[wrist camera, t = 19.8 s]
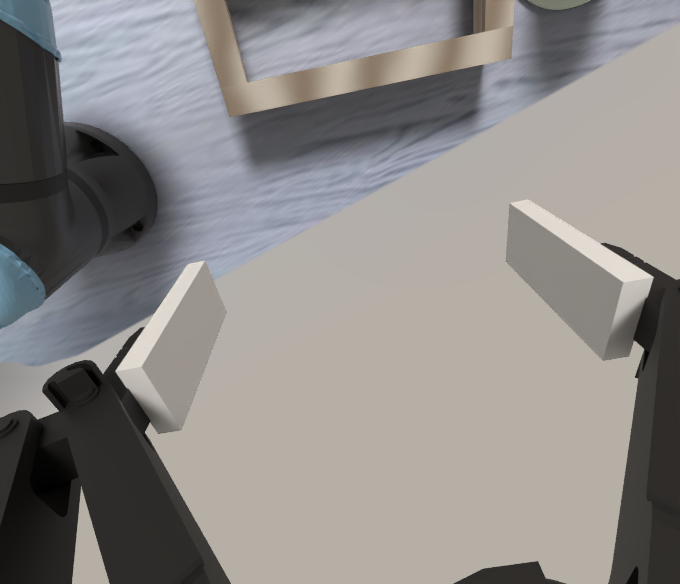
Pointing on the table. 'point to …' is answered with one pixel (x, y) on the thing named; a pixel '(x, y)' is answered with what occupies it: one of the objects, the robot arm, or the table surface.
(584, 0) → the zone mat
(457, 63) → the box
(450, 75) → the table surface
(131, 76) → the table surface
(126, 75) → the table surface
